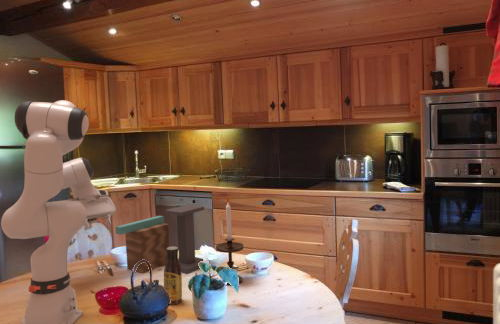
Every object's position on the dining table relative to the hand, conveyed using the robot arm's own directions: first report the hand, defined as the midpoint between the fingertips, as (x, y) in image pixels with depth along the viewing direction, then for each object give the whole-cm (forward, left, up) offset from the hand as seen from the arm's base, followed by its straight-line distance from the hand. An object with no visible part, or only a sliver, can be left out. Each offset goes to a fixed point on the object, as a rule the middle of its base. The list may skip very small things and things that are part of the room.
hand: (99, 226), depth 182 cm
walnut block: (+18, -17, -23) cm, 34 cm away
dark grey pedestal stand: (+13, -33, -23) cm, 42 cm away
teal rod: (+16, -14, -5) cm, 22 cm away
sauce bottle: (-25, -29, -24) cm, 45 cm away
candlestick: (-9, -51, -24) cm, 57 cm away
